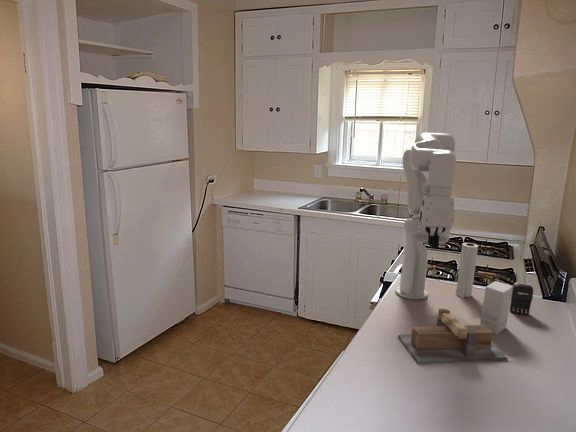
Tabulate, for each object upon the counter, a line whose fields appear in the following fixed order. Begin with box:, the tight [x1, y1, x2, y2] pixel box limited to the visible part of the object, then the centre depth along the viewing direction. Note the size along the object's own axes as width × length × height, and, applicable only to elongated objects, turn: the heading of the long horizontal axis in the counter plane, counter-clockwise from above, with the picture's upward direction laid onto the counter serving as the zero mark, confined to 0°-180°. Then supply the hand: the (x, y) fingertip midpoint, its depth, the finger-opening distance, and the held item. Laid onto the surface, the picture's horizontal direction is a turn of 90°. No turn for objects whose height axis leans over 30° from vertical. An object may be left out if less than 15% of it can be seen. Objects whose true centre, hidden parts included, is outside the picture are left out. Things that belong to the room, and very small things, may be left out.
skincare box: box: [479, 280, 513, 335], centre depth 159 cm, size 8×7×16 cm
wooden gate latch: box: [397, 318, 508, 364], centre depth 145 cm, size 16×28×9 cm, turn 98°
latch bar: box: [437, 308, 468, 339], centre depth 145 cm, size 15×4×3 cm, turn 7°
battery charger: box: [509, 282, 534, 316], centre depth 173 cm, size 7×4×11 cm, turn 67°
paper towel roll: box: [455, 242, 479, 299], centre depth 187 cm, size 7×6×21 cm
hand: (432, 246), depth 152 cm, fingers closed
